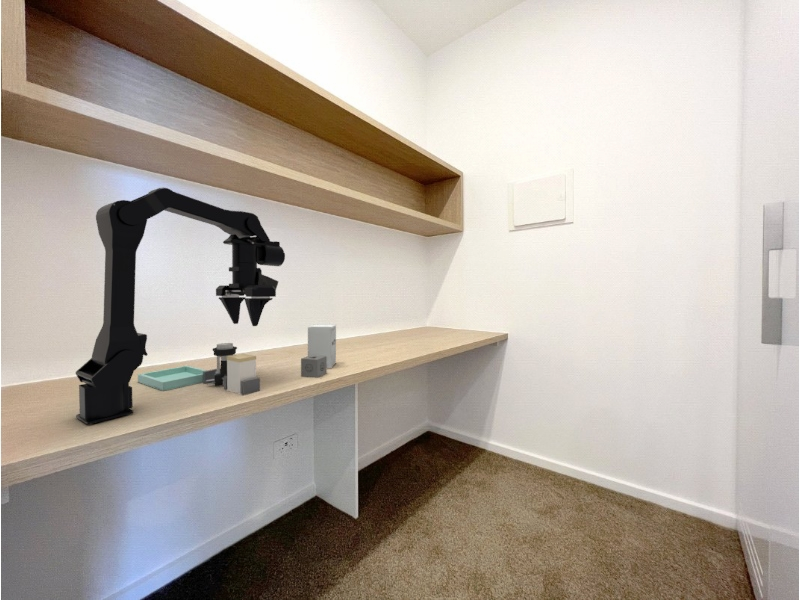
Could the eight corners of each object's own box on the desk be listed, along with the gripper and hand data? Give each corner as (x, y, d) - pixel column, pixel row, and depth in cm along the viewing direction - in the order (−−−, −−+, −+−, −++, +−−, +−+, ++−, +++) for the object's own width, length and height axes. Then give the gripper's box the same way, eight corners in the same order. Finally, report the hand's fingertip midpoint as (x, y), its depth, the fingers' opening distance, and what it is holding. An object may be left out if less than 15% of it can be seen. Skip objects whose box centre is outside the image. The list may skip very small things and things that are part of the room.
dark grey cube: (301, 376, 89) (300, 358, 89) (310, 372, 94) (310, 355, 94) (317, 378, 88) (317, 359, 88) (326, 373, 93) (326, 356, 92)
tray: (163, 391, 76) (162, 382, 76) (137, 382, 83) (137, 374, 83) (213, 379, 86) (213, 372, 85) (187, 372, 93) (187, 365, 93)
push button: (206, 389, 77) (206, 347, 77) (206, 383, 82) (206, 343, 81) (238, 385, 81) (237, 344, 80) (236, 380, 85) (235, 341, 85)
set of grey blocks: (243, 395, 73) (243, 381, 73) (202, 383, 82) (202, 371, 82) (259, 390, 76) (259, 377, 76) (218, 379, 86) (218, 368, 85)
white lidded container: (239, 394, 74) (239, 358, 74) (226, 390, 76) (226, 356, 76) (256, 389, 77) (256, 355, 77) (243, 386, 80) (243, 353, 80)
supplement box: (331, 368, 98) (331, 326, 98) (306, 368, 98) (306, 326, 98) (336, 363, 105) (336, 324, 105) (313, 363, 105) (313, 324, 105)
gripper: (294, 264, 85) (294, 324, 85) (254, 267, 96) (254, 320, 96) (253, 261, 76) (253, 328, 76) (214, 264, 87) (215, 323, 87)
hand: (245, 324), depth 84 cm, fingers open, 9 cm apart
